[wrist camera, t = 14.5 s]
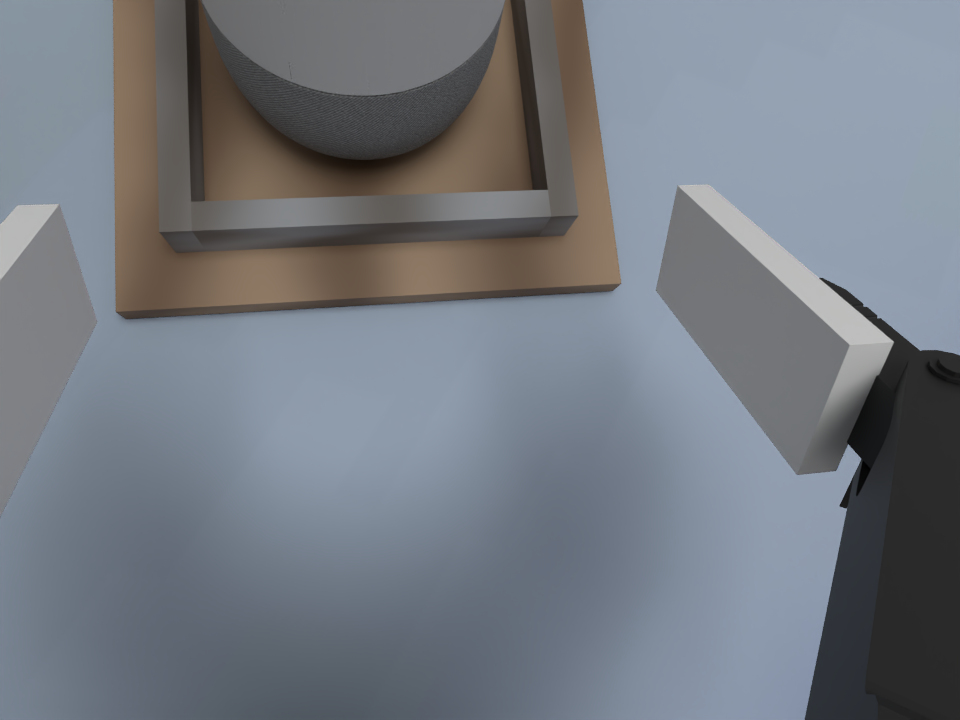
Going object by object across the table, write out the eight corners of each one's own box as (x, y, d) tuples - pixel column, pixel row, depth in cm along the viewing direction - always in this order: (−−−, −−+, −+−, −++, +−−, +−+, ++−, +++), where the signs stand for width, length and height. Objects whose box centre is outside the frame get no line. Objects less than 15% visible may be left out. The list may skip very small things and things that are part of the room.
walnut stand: (125, 318, 25) (92, 295, 22) (121, -121, 28) (91, -192, 25) (612, 290, 28) (640, 266, 25) (559, -106, 31) (578, -169, 28)
